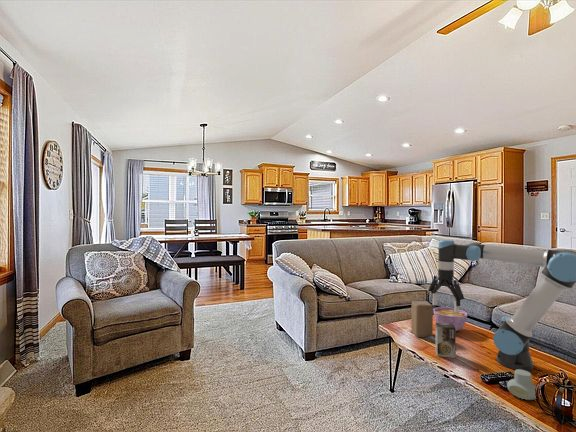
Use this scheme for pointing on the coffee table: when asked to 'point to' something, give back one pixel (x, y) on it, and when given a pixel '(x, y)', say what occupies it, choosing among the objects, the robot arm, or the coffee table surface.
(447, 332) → the coffee box
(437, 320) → the bowl of food
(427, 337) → the tv remote
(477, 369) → the coffee table surface
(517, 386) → the air freshener
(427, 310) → the wooden block
